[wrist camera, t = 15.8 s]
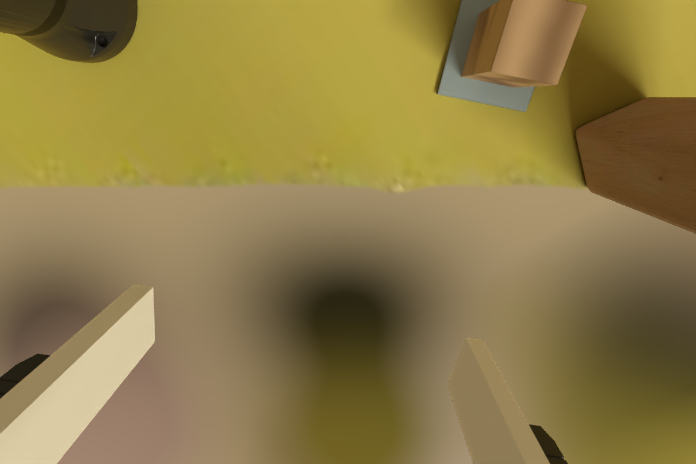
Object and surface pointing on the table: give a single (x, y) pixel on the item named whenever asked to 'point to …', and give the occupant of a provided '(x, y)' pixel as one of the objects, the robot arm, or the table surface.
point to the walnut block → (523, 42)
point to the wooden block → (645, 158)
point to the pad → (451, 79)
